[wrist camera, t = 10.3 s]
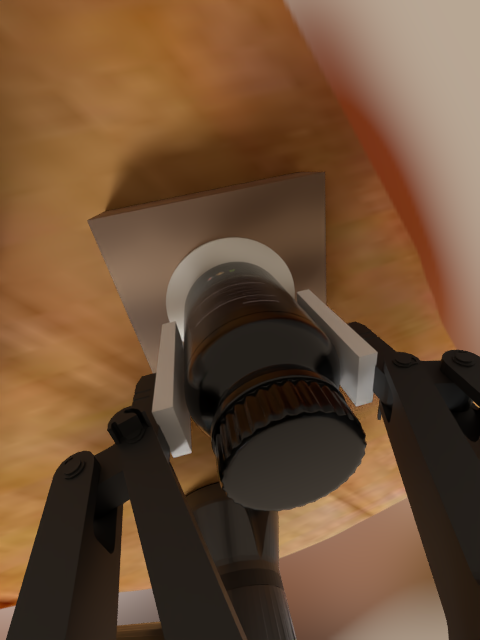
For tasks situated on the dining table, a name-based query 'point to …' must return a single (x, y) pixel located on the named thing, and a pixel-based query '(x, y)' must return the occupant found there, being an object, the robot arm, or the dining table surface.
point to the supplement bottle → (266, 391)
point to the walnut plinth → (212, 245)
